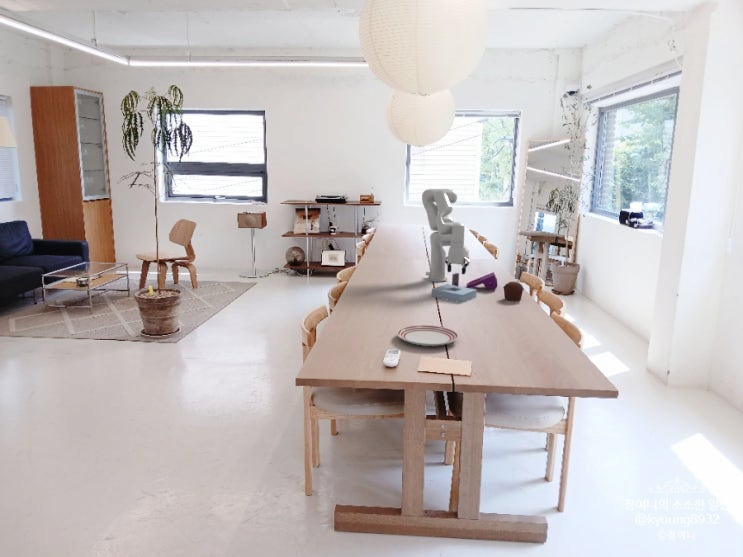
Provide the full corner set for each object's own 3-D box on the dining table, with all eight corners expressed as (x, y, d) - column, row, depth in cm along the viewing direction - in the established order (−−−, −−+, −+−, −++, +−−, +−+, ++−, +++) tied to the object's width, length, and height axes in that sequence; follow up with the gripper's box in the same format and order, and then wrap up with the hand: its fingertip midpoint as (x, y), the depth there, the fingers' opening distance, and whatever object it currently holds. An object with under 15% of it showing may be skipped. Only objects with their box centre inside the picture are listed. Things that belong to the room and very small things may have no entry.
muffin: (512, 303, 307) (513, 285, 305) (498, 298, 316) (499, 281, 314) (527, 300, 313) (528, 283, 311) (512, 295, 323) (514, 279, 320)
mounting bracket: (471, 298, 338) (499, 288, 333) (466, 286, 337) (494, 275, 332) (471, 294, 347) (499, 284, 342) (466, 282, 346) (493, 272, 341)
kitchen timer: (471, 257, 436) (472, 239, 432) (464, 260, 424) (465, 241, 421) (455, 255, 443) (456, 237, 439) (448, 258, 431) (449, 239, 428)
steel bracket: (449, 290, 334) (450, 273, 332) (454, 288, 338) (455, 272, 335) (455, 291, 331) (456, 274, 329) (459, 289, 335) (460, 273, 333)
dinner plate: (397, 329, 260) (398, 322, 260) (456, 331, 258) (456, 324, 257) (394, 349, 234) (395, 342, 233) (460, 352, 231) (460, 345, 231)
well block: (431, 296, 318) (431, 288, 317) (446, 291, 330) (446, 284, 329) (462, 302, 306) (462, 294, 305) (475, 297, 318) (476, 289, 317)
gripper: (441, 244, 330) (440, 272, 334) (467, 246, 320) (466, 275, 323) (448, 242, 336) (447, 270, 340) (473, 245, 326) (472, 273, 329)
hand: (456, 273), depth 331 cm, fingers open, 9 cm apart
